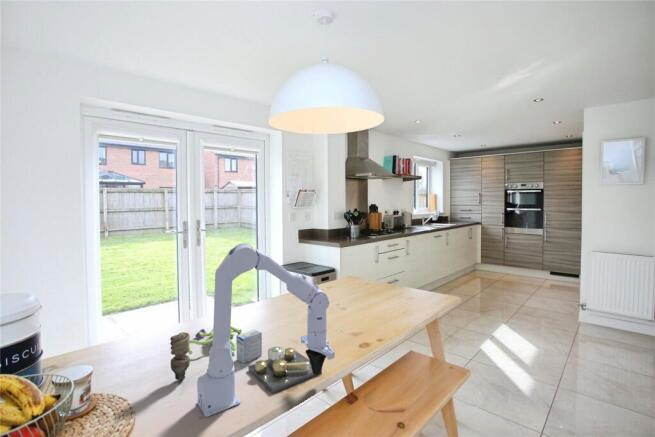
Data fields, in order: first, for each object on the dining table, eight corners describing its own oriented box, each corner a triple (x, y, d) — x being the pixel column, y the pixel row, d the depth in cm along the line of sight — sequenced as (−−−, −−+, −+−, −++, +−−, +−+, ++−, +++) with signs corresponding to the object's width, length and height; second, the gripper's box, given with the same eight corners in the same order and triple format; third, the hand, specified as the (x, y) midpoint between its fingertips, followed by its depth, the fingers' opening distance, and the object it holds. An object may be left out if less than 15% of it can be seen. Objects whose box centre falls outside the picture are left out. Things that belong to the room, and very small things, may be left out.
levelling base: (272, 393, 94) (272, 371, 93) (248, 370, 106) (248, 350, 106) (321, 373, 105) (321, 353, 104) (295, 354, 117) (295, 336, 117)
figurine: (178, 364, 111) (177, 348, 111) (198, 332, 137) (198, 319, 137) (233, 360, 114) (233, 345, 113) (243, 330, 140) (242, 317, 140)
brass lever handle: (272, 376, 99) (272, 367, 99) (273, 368, 104) (272, 360, 104) (309, 373, 101) (309, 364, 101) (308, 366, 105) (308, 357, 105)
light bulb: (193, 376, 103) (192, 329, 102) (186, 386, 97) (185, 337, 96) (175, 376, 103) (174, 330, 102) (167, 386, 97) (166, 337, 96)
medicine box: (254, 351, 119) (254, 328, 119) (262, 355, 117) (262, 331, 116) (236, 359, 113) (235, 335, 113) (244, 364, 110) (243, 339, 110)
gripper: (342, 333, 94) (342, 379, 95) (313, 319, 106) (313, 359, 106) (323, 340, 90) (323, 387, 91) (295, 324, 101) (295, 366, 102)
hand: (316, 373), depth 98 cm, fingers closed
